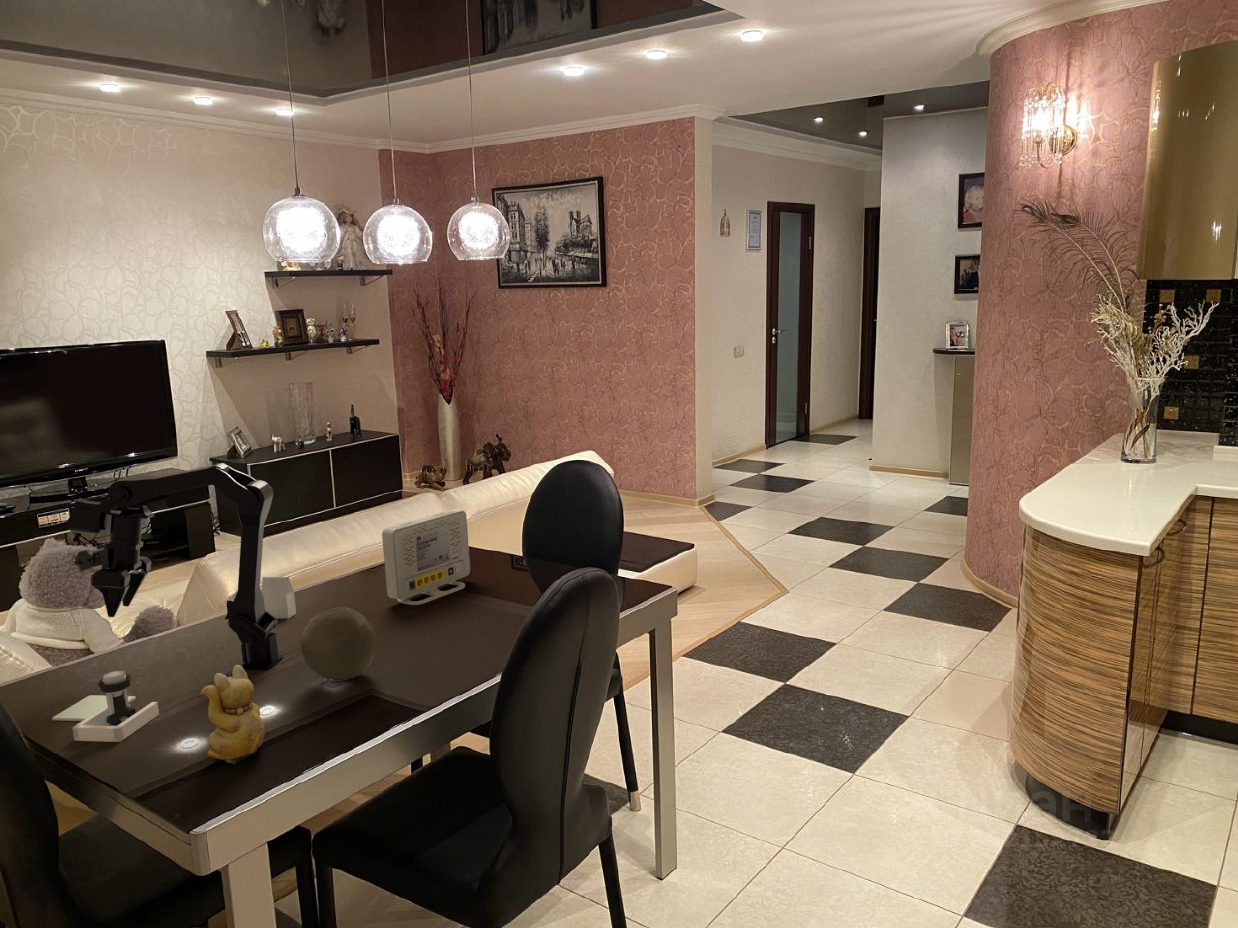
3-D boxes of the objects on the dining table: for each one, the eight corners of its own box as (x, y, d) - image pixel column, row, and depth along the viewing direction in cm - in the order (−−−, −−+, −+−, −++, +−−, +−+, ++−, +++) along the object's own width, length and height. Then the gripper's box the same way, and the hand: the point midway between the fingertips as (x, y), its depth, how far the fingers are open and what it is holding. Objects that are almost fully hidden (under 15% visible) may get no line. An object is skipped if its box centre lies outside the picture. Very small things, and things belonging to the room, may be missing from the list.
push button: (110, 737, 165) (102, 685, 163) (91, 732, 167) (83, 680, 166) (143, 721, 171) (136, 671, 169) (124, 717, 173) (117, 667, 171)
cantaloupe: (320, 667, 193) (313, 599, 191) (387, 665, 193) (380, 597, 190) (295, 696, 179) (287, 622, 177) (366, 694, 179) (359, 620, 176)
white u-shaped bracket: (159, 714, 174) (157, 701, 173) (120, 741, 163) (118, 728, 163) (115, 713, 175) (114, 700, 175) (74, 740, 164) (72, 727, 164)
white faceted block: (288, 618, 226) (284, 579, 224) (263, 618, 227) (258, 579, 225) (296, 613, 229) (292, 574, 228) (271, 613, 230) (266, 574, 229)
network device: (455, 578, 253) (450, 507, 250) (478, 582, 248) (473, 510, 245) (382, 604, 233) (375, 528, 230) (405, 610, 228) (398, 532, 225)
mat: (135, 698, 182) (135, 696, 181) (100, 721, 172) (100, 718, 172) (90, 697, 183) (89, 695, 183) (52, 720, 173) (52, 717, 173)
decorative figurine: (240, 738, 162) (230, 658, 160) (280, 743, 160) (271, 661, 157) (201, 765, 153) (190, 680, 151) (243, 770, 151) (232, 684, 148)
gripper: (98, 526, 197) (92, 598, 198) (65, 541, 179) (58, 620, 180) (154, 531, 200) (148, 602, 201) (126, 546, 181) (120, 624, 182)
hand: (118, 611), depth 191 cm, fingers open, 9 cm apart
